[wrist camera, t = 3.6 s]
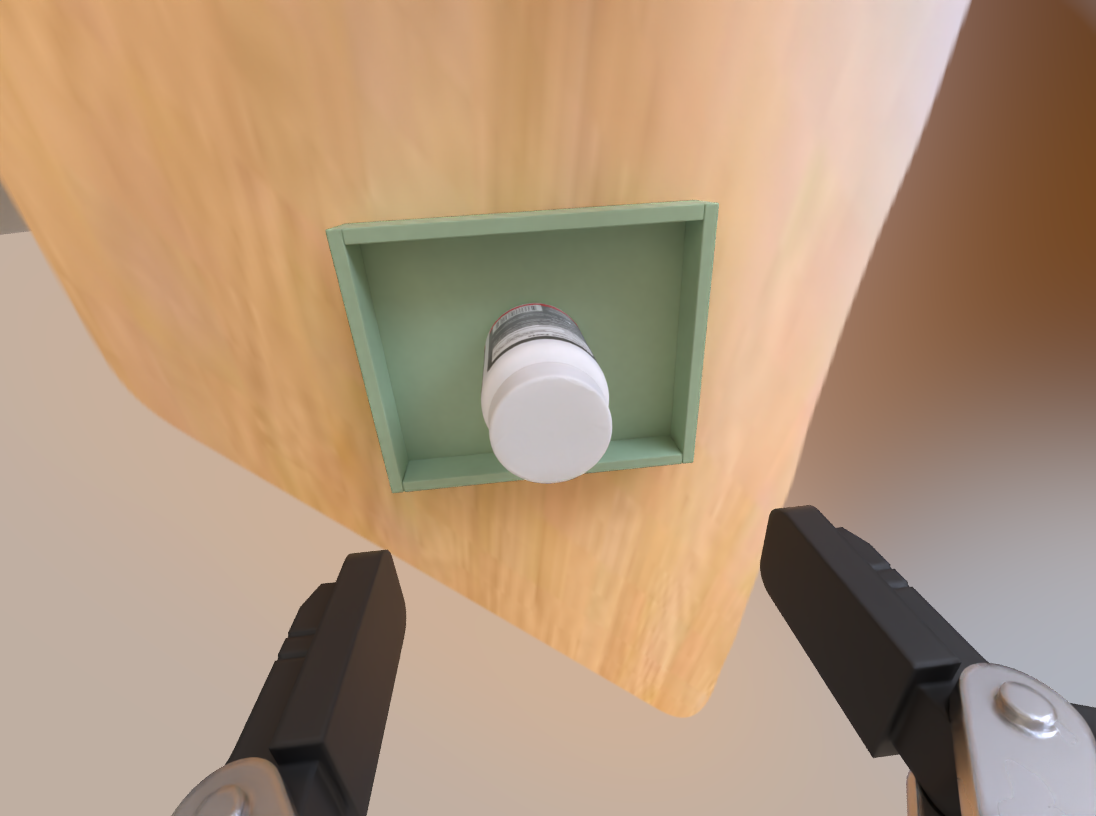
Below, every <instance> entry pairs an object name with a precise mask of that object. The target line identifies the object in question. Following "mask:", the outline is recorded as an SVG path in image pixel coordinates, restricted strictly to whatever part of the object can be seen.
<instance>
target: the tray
mask: <svg viewBox="0 0 1096 816" xmlns="http://www.w3.org/2000/svg"><path fill="white" fill-rule="evenodd" d="M718 209H719V203H715V202H707V201H699V200H687V201H673V202H658V203H643V204H628V205H613V206H599V207H584V208H569V209H554V210H540V211H525V212H510V213H495V214H480V215H466V216H451V217H436V218H421V219H407V220H392V221H377V222H362V223H348V224H342V225H339V226H336V227H333V228H330V229H327V230H326V235H327V239H328V243H329V247H330V251H331V255H332V259H333V263H334V267H335V271H336V274H337V278H338V282H339V286H340V290H341V294H342V298H343V302H344V306H345V310H346V314H347V318H348V322H349V326H350V329H351V333H352V337H353V341H354V345H355V349H356V353H357V357H358V361H359V365H360V369H361V373H362V377H363V380H364V384H365V388H366V392H367V396H368V400H369V404H370V408H371V412H372V416H373V420H374V424H375V428H376V432H377V435H378V439H379V443H380V447H381V451H382V455H383V459H384V463H385V467H386V471H387V475H388V479H389V483H390V487H391V490H392V493H399V492H404V491H405V492H409V491H419V490H429V489H438V488H448V487H458V486H468V485H478V484H487V483H497V482H507V481H517V480H525V479H522V478H520V477H518V476H516V475H514V474H512V473H511V472H510V471H508V470H507V469H506V468H505V467H504V466H503V465H502V464H501V463H500V462H499V460H498V459H497V457H496V456H495V454H494V451H493V449H492V446H491V442H490V437H489V429H488V427H487V425H486V423H485V420H484V417H483V413H482V407H481V389H482V378H483V366H484V350H485V343H486V339H487V336H488V333H489V331H490V329H491V327H492V326H493V324H494V323H495V322H496V320H497V319H498V318H499V317H500V316H501V315H502V314H504V313H505V312H506V311H508V310H510V309H512V308H514V307H516V306H519V305H522V304H527V303H543V304H548V305H551V306H554V307H556V308H558V309H560V310H562V311H563V312H565V313H566V314H567V315H568V316H569V317H570V318H571V319H572V320H573V321H574V322H575V323H576V324H577V326H578V327H579V329H580V331H581V333H582V335H583V337H584V339H585V341H586V343H587V344H588V346H589V348H590V349H591V351H592V353H593V355H594V357H595V359H596V361H597V363H598V364H599V366H600V368H601V370H602V372H603V374H604V376H605V379H606V382H607V386H608V391H609V406H608V407H609V410H610V413H611V417H612V435H611V439H610V443H609V445H608V448H607V450H606V451H605V453H604V455H603V456H602V457H601V459H600V460H599V461H598V462H597V463H596V464H595V465H594V466H593V467H592V468H591V469H589V470H588V471H587V472H585V473H595V472H605V471H615V470H624V469H634V468H644V467H654V466H663V465H673V464H681V463H692V462H693V459H694V449H695V439H696V429H697V419H698V409H699V399H700V389H701V379H702V369H703V359H704V349H705V339H706V329H707V319H708V309H709V299H710V289H711V279H712V269H713V259H714V249H715V239H716V229H717V219H718ZM585 473H584V474H585Z"/></svg>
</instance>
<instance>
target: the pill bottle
mask: <svg viewBox="0 0 1096 816" xmlns="http://www.w3.org/2000/svg"><path fill="white" fill-rule="evenodd" d="M608 406H609V391H608V386H607V382H606V379H605V376H604V374H603V372H602V370H601V368H600V366H599V364H598V363H597V361H596V359H595V357H594V355H593V353H592V351H591V349H590V348H589V346H588V344H587V343H586V341H585V339H584V337H583V335H582V333H581V331H580V329H579V327H578V326H577V324H576V323H575V322H574V321H573V320H572V319H571V318H570V317H569V316H568V315H567V314H566V313H565V312H563V311H562V310H560V309H558V308H556V307H554V306H551V305H548V304H543V303H527V304H522V305H519V306H516V307H514V308H512V309H510V310H508V311H506V312H505V313H504V314H502V315H501V316H500V317H499V318H498V319H497V320H496V322H495V323H494V324H493V326H492V327H491V329H490V331H489V333H488V336H487V339H486V343H485V350H484V366H483V378H482V389H481V407H482V413H483V417H484V420H485V423H486V425H487V427H488V429H489V437H490V442H491V446H492V449H493V451H494V454H495V456H496V457H497V459H498V460H499V462H500V463H501V464H502V465H503V466H504V467H505V468H506V469H507V470H508V471H510V472H511V473H512V474H514V475H516V476H518V477H520V478H522V479H525V480H528V481H531V482H536V483H546V484H549V483H559V482H564V481H568V480H571V479H574V478H576V477H578V476H580V475H582V474H584V473H585V472H587V471H588V470H589V469H591V468H592V467H593V466H594V465H595V464H596V463H597V462H598V461H599V460H600V459H601V457H602V456H603V455H604V453H605V451H606V450H607V448H608V445H609V443H610V439H611V435H612V417H611V413H610V410H609V407H608Z"/></svg>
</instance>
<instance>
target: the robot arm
mask: <svg viewBox="0 0 1096 816" xmlns="http://www.w3.org/2000/svg"><path fill="white" fill-rule="evenodd" d="M760 571H761V576H762V580H763V583H764V586H765V588H766V590H767V592H768V594H769V595H770V597H771V599H772V600H773V602H774V603H775V605H776V606H777V608H778V610H779V611H780V613H781V614H782V616H783V617H784V619H785V621H786V622H787V624H788V625H789V627H790V628H791V630H792V632H793V633H794V635H795V636H796V638H797V639H798V641H799V643H800V644H801V646H802V647H803V649H804V650H805V652H806V654H807V655H808V657H809V658H810V660H811V661H812V663H813V664H814V666H815V668H816V669H817V671H818V672H819V674H820V676H821V677H822V679H823V680H824V682H825V683H826V685H827V686H828V688H829V690H830V691H831V693H832V694H833V696H834V697H835V699H836V701H837V702H838V704H839V705H840V707H841V708H842V710H843V711H844V713H845V715H846V716H847V718H848V719H849V721H850V722H851V724H852V726H853V727H854V729H855V730H856V732H857V734H858V735H859V737H860V738H861V740H862V741H863V743H864V744H865V746H866V748H867V749H868V751H869V752H870V754H871V756H872V757H873V758H876V757H884V756H891V755H898V754H900V756H901V757H902V759H903V760H904V762H905V763H906V764H907V766H908V767H909V769H910V770H909V772H908V775H907V782H906V786H907V787H906V788H907V814H908V816H1096V708H1094V707H1089V706H1083V705H1078V704H1072V703H1069V702H1068V701H1067V700H1066V699H1064V698H1063V697H1062V696H1061V695H1059V694H1058V693H1057V692H1056V691H1054V690H1053V689H1051V688H1050V687H1048V686H1047V685H1045V684H1044V683H1042V682H1040V681H1038V680H1037V679H1035V678H1033V677H1031V676H1029V675H1027V674H1025V673H1023V672H1021V671H1018V670H1016V669H1013V668H1010V667H1007V666H1003V665H999V664H993V663H989V662H987V661H986V660H985V659H984V658H983V657H982V656H981V655H980V654H979V653H978V652H977V651H976V650H975V649H974V648H973V647H972V646H971V645H970V644H969V643H968V642H967V641H966V640H965V639H964V638H963V637H962V636H961V635H960V634H959V633H958V632H957V631H956V630H955V629H954V628H953V627H952V626H951V625H950V624H949V623H948V622H947V621H946V620H945V619H944V618H943V617H942V616H941V615H940V614H939V613H938V612H937V611H936V610H935V609H934V608H933V607H932V606H931V605H930V604H929V603H928V602H927V601H926V600H925V599H924V598H923V597H922V596H921V595H920V594H919V593H918V592H917V591H916V590H915V589H914V588H913V587H909V586H908V582H907V581H906V580H905V579H904V578H903V577H902V576H901V575H900V574H899V573H898V572H897V571H896V570H895V569H891V567H890V564H889V563H888V562H887V561H886V560H885V559H884V558H883V557H882V556H881V555H880V554H879V553H878V552H877V551H876V550H875V549H874V548H873V547H872V546H871V545H870V544H869V543H867V542H866V541H864V540H862V539H861V538H859V537H858V536H856V535H854V534H853V533H851V532H849V531H847V530H846V529H844V528H843V527H840V528H835V527H834V526H833V525H832V524H831V523H830V522H829V521H828V520H827V519H826V517H824V516H823V514H822V513H820V511H819V510H818V509H817V508H815V507H814V506H811V505H806V506H797V507H788V508H778V509H774V510H772V511H771V513H770V515H769V520H768V525H767V530H766V535H765V540H764V545H763V550H762V555H761V561H760ZM405 628H406V607H405V602H404V598H403V594H402V591H401V587H400V583H399V580H398V577H397V573H396V569H395V566H394V562H393V559H392V556H391V553H390V552H389V551H388V550H380V551H370V552H361V553H353V554H349V555H348V556H347V557H346V559H345V561H344V563H343V566H342V568H341V571H340V573H339V576H338V578H337V581H336V582H335V583H325V584H321V585H320V586H319V587H318V588H317V589H316V590H315V591H314V592H313V594H312V595H311V596H310V597H309V598H308V599H307V600H306V601H305V603H303V605H302V606H301V607H300V609H299V611H298V613H297V615H296V618H295V619H294V622H293V624H292V626H291V628H290V630H289V632H288V638H286V639H285V641H284V643H283V645H282V647H281V650H280V652H279V654H278V660H277V661H275V662H274V664H273V667H272V669H271V671H270V673H269V675H268V677H267V680H266V682H265V684H264V686H263V688H262V690H261V692H260V695H259V697H258V699H257V701H256V703H255V705H254V707H253V709H252V712H251V714H250V716H249V718H248V720H247V722H246V724H245V727H244V729H243V731H242V733H241V735H240V737H239V740H238V742H237V744H236V746H235V748H234V750H233V752H232V754H231V756H230V758H229V759H228V761H227V762H226V764H225V766H223V767H221V768H219V769H218V770H216V771H215V772H213V773H212V774H210V775H209V776H207V777H206V778H205V779H204V780H202V781H201V782H200V783H199V784H198V785H197V786H196V787H195V788H194V789H192V791H191V792H190V793H189V794H188V795H187V796H186V797H185V798H184V799H183V801H182V802H181V803H180V805H179V806H178V807H177V808H176V810H175V811H174V813H173V814H172V816H366V815H367V810H368V806H369V801H370V796H371V791H372V787H373V782H374V777H375V772H376V768H377V763H378V758H379V754H380V749H381V744H382V739H383V735H384V730H385V725H386V720H387V716H388V711H389V706H390V701H391V696H392V692H393V687H394V682H395V678H396V673H397V668H398V663H399V659H400V653H401V649H402V645H403V640H404V634H405Z"/></svg>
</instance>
